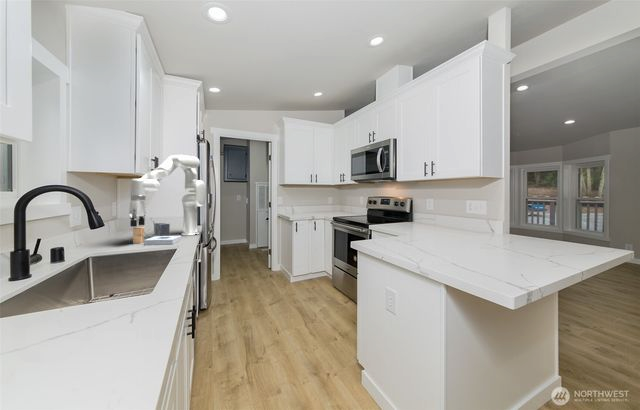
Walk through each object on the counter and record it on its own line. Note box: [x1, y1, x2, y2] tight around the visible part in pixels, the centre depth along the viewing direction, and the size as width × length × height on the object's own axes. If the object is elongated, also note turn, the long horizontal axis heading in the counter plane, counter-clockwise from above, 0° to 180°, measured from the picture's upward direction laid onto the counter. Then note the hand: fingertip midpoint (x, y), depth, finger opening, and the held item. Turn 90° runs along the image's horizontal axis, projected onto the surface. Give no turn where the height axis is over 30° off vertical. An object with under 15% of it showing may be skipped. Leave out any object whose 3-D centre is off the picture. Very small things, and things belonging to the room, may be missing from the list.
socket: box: [143, 235, 182, 246], centre depth 164 cm, size 16×16×3 cm
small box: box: [153, 222, 171, 237], centre depth 180 cm, size 11×6×10 cm, turn 56°
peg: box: [132, 226, 145, 245], centre depth 160 cm, size 4×4×10 cm
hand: (137, 225), depth 159 cm, fingers open, 9 cm apart
